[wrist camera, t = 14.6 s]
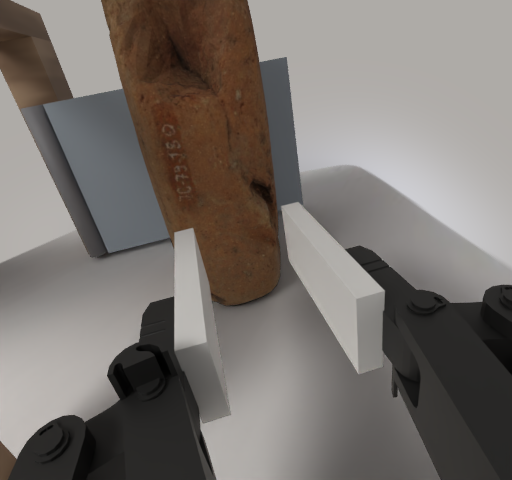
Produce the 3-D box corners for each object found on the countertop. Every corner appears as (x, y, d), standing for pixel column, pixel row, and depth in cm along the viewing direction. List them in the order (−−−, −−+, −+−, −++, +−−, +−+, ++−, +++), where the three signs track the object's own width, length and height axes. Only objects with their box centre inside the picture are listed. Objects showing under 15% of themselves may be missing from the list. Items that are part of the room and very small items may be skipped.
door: (88, 259, 30) (16, 109, 24) (96, 242, 33) (33, 105, 27) (303, 205, 33) (287, 56, 27) (292, 194, 36) (275, 58, 30)
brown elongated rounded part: (191, 246, 30) (108, -27, 21) (270, 228, 31) (225, -47, 21) (186, 327, 21) (31, -107, 11) (302, 300, 21) (245, -141, 12)
